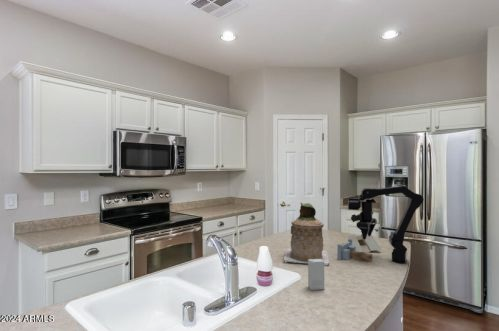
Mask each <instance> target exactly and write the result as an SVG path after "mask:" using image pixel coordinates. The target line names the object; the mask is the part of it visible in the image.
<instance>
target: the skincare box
mask: <svg viewBox="0 0 499 331" xmlns="http://www.w3.org/2000/svg"><path fill="white" fill-rule="evenodd" d="M307 268H308V269H307V270H308V271H307V274H308V277H307V278H308V280H307V281H308V282H307V284H308V289H310V291H314V290H315V291H316V290H319V291H320V290H325V266H324V261H323V260H322V259H308V264H307Z"/></svg>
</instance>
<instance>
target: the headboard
mask: <svg viewBox="0 0 499 331" xmlns="http://www.w3.org/2000/svg"><path fill="white" fill-rule="evenodd" d="M336 245H337V260H339V261H341V260H345V261H348V260H350V259H351V258H350V250H352V251H356V246H352V239H351V238H349V239H347V242H345V243H343V244H341V243H338V244H336Z"/></svg>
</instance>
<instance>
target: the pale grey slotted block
mask: <svg viewBox="0 0 499 331" xmlns="http://www.w3.org/2000/svg"><path fill="white" fill-rule="evenodd" d="M347 238H348V239H349V238H351V239H352V246H356V251H357V252H362V253H371V252H373V251H377V250H378V251H379V250H381V247H380V245H379V244H378V242H377V240H376V239H375V238H374V236H373V234H371V236H368V234H367V237H366V239H363V236H362V233H361V235H355V234H353V235H347ZM348 239H347V240H348Z"/></svg>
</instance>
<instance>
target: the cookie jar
mask: <svg viewBox="0 0 499 331" xmlns="http://www.w3.org/2000/svg"><path fill="white" fill-rule="evenodd" d="M315 208H316V207H314V206H313V204H311V203H309V202H307V203H303V202H300V209H299V211H298V212H299V216H298V217H296V219H293V220H292V221H290V223H291V226H290V234H291V238H290V247H287V248H286V250H285V253H284V257H283V260H284V262H285V264H287V263H296V264H307V265H308V259H322V260H323V261H324V267H327V266H328V265H329V264H330V261H329V260H330V259H329V254H328V251H326V250H324V237H323V227H324V222H322V221H320V220H319V219H317V218H316V212H317V211H316V209H315Z"/></svg>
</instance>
